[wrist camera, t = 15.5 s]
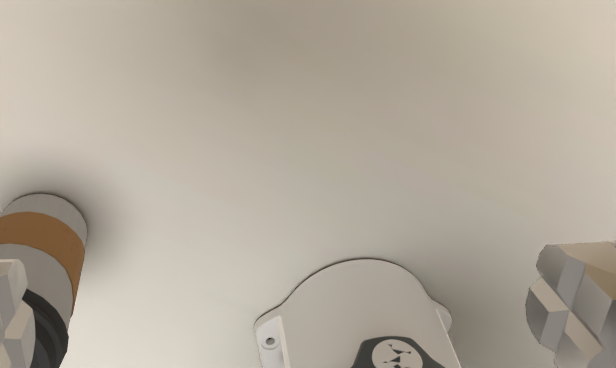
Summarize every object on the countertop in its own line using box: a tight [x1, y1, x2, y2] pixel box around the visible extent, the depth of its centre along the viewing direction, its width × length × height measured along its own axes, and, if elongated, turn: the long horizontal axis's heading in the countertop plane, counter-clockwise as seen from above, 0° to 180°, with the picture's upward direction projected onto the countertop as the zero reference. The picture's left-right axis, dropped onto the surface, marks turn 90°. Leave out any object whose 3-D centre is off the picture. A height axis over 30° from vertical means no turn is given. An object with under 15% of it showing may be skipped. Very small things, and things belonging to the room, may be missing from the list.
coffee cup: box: [0, 194, 87, 368], centre depth 39 cm, size 8×8×15 cm
